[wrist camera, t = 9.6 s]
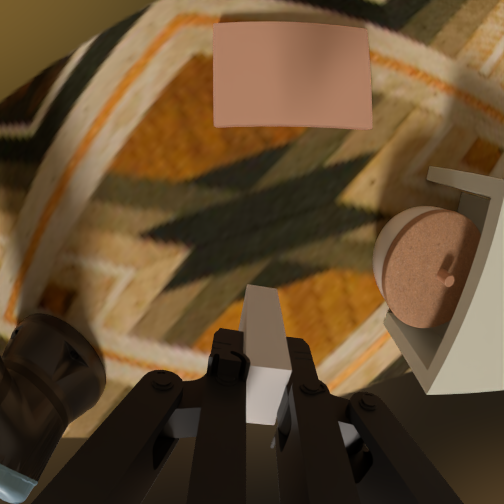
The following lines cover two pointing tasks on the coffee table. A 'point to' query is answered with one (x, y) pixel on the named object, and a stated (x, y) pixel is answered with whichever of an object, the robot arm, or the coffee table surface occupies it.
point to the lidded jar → (424, 263)
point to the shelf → (465, 303)
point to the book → (291, 75)
